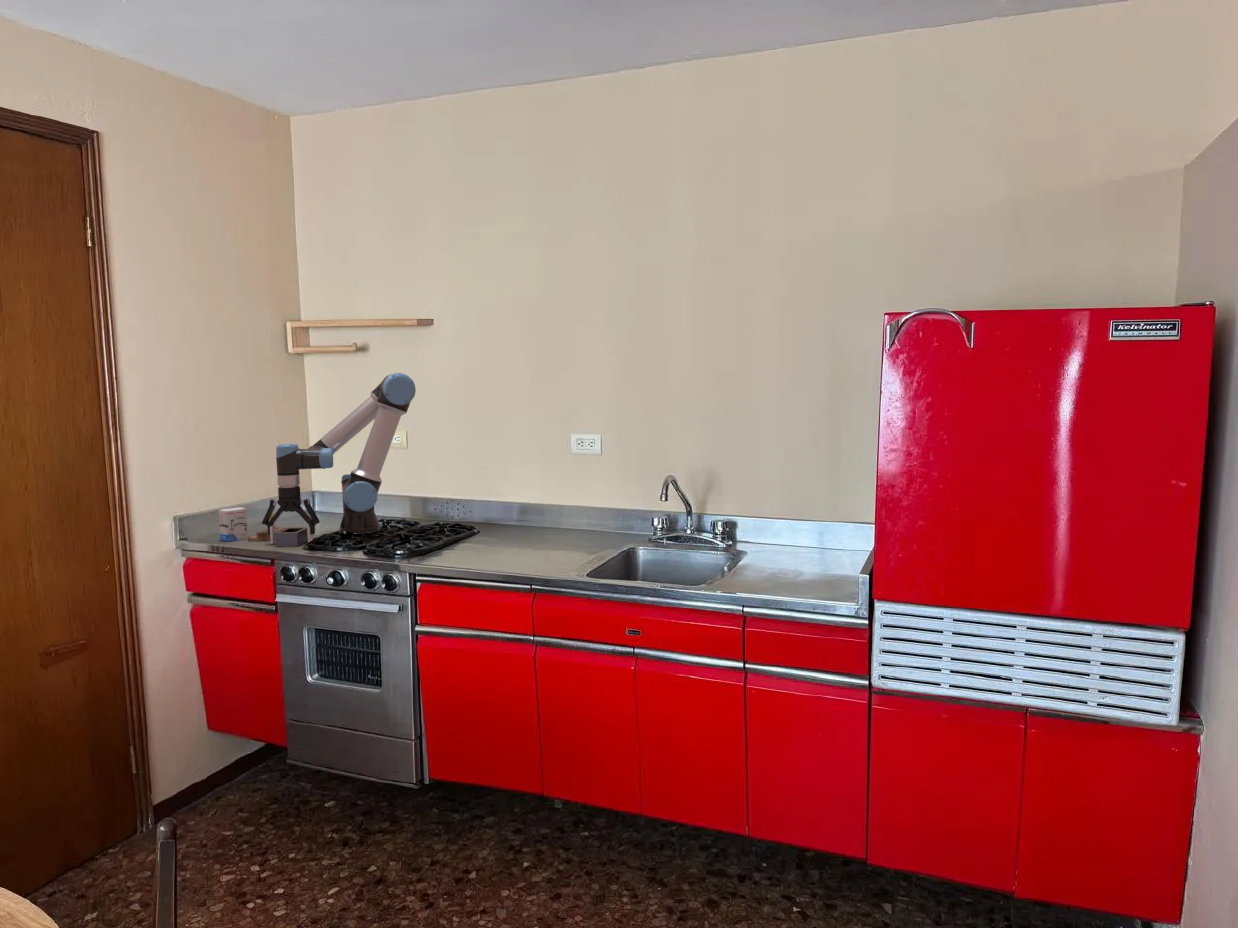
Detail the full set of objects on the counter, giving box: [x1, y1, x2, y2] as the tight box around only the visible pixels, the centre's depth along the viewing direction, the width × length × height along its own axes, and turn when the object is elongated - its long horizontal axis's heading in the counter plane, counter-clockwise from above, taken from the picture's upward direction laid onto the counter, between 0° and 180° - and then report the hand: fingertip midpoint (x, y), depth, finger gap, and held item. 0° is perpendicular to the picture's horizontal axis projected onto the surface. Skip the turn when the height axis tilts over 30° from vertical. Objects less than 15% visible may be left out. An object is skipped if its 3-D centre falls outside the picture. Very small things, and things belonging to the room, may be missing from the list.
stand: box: [247, 527, 287, 542], centre depth 310 cm, size 14×10×3 cm
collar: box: [274, 526, 308, 548], centre depth 300 cm, size 8×11×5 cm
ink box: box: [218, 506, 249, 543], centre depth 309 cm, size 9×5×12 cm, turn 143°
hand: (292, 543), depth 300 cm, fingers open, 13 cm apart
